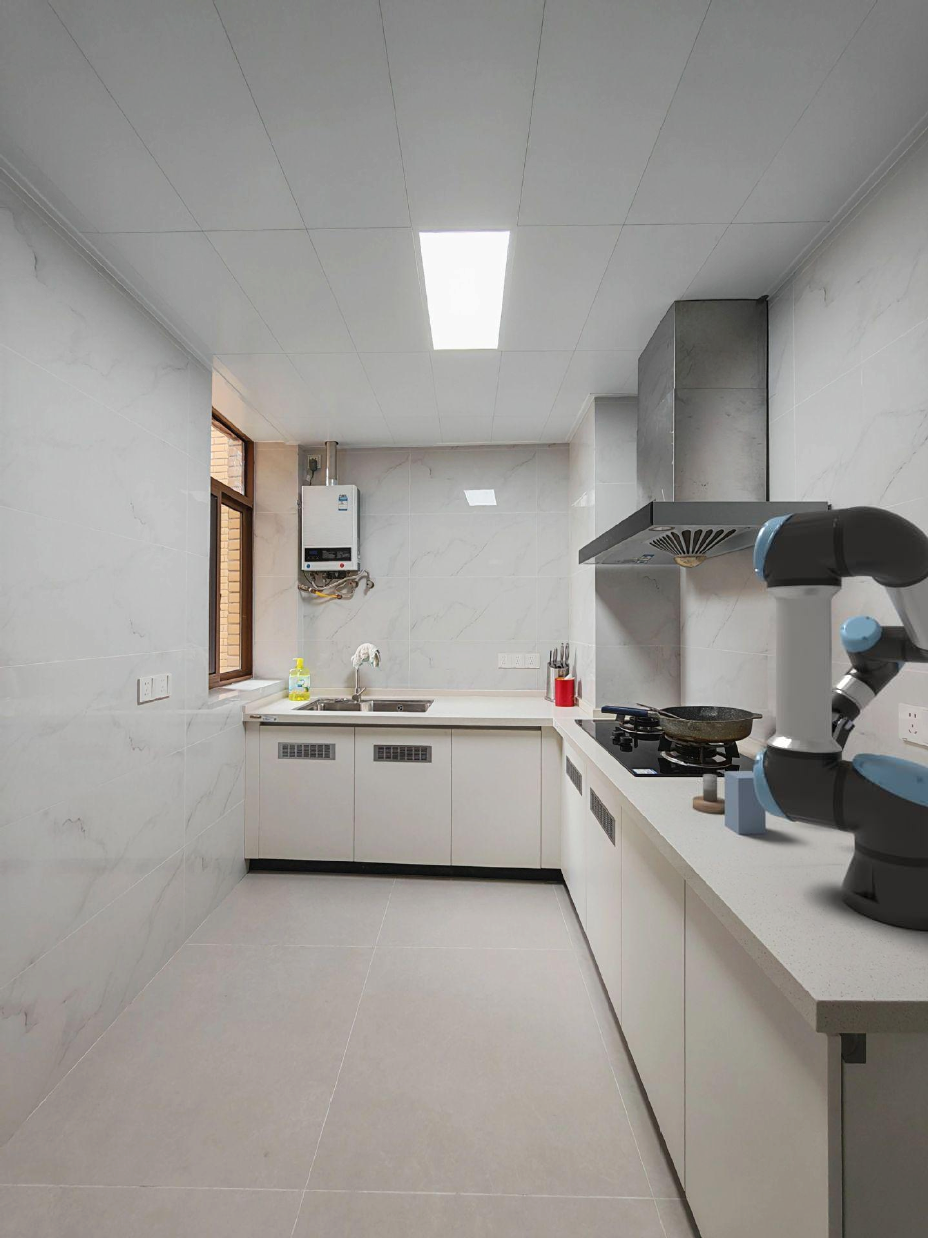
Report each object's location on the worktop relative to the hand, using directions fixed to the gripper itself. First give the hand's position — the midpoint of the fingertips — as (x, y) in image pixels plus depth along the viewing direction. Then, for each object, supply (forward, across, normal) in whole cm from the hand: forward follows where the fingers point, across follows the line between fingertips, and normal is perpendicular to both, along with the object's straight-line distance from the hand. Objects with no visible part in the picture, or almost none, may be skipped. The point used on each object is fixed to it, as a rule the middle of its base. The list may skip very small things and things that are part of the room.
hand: (781, 770), depth 137 cm
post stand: (+15, +15, -2) cm, 21 cm away
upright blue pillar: (+15, -1, -3) cm, 15 cm away
